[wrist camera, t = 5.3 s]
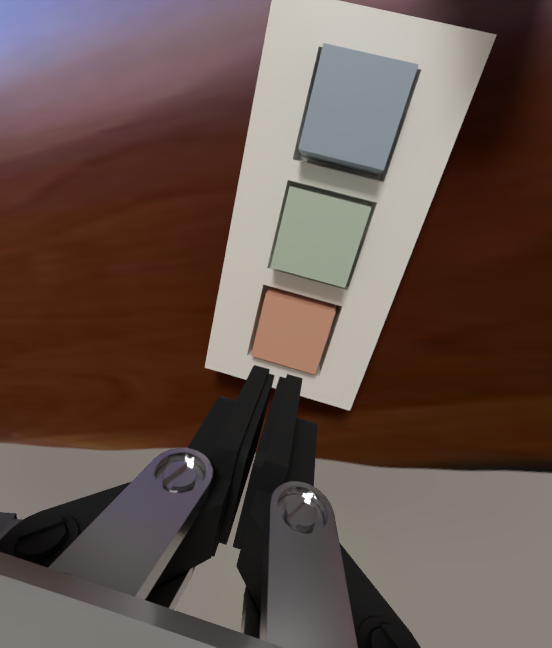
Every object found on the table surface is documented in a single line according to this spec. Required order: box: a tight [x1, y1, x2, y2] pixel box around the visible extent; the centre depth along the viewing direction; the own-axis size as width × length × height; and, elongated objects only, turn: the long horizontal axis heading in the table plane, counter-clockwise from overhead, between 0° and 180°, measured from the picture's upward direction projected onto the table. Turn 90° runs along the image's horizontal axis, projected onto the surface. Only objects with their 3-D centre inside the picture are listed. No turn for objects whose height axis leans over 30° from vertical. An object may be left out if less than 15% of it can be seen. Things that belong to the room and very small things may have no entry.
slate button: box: [298, 43, 419, 176], centre depth 18 cm, size 5×5×3 cm
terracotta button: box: [251, 287, 335, 374], centre depth 24 cm, size 5×5×3 cm
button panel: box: [205, 0, 496, 411], centre depth 22 cm, size 12×24×3 cm, turn 166°
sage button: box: [270, 186, 372, 288], centre depth 21 cm, size 5×5×3 cm
